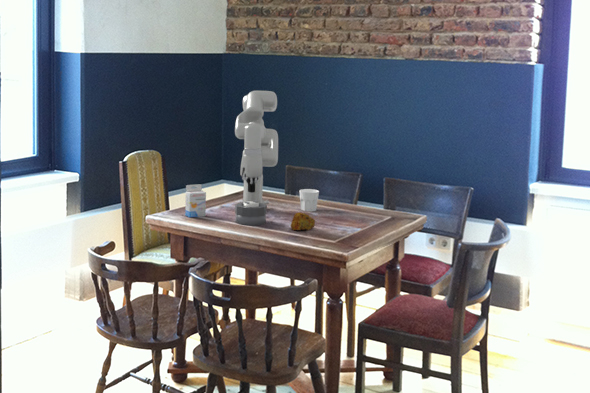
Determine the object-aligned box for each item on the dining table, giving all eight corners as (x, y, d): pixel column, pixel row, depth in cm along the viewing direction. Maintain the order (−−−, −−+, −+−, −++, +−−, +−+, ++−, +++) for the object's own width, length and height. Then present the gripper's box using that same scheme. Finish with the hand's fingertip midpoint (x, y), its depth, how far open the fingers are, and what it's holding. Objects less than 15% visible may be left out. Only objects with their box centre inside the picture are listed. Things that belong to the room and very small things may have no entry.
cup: (307, 212, 330) (308, 193, 328) (294, 209, 338) (295, 190, 336) (322, 210, 336) (323, 191, 334) (309, 207, 344) (310, 188, 342)
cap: (251, 211, 309) (251, 199, 308) (261, 213, 304) (262, 201, 303) (240, 213, 304) (240, 201, 303) (250, 215, 299) (250, 203, 298)
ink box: (189, 217, 308) (189, 186, 306) (185, 215, 312) (185, 185, 310) (206, 216, 313) (206, 185, 310) (201, 214, 317) (201, 184, 314)
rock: (292, 236, 298) (302, 218, 302) (308, 241, 295) (317, 223, 299) (286, 223, 289) (296, 205, 293) (302, 229, 286) (313, 210, 290)
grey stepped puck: (251, 217, 314) (252, 200, 313) (272, 222, 305) (272, 205, 303) (229, 221, 304) (229, 204, 303) (249, 226, 295) (250, 209, 293)
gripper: (258, 150, 307) (257, 189, 310) (234, 152, 296) (233, 192, 299) (270, 152, 301) (268, 191, 305) (245, 154, 291) (244, 195, 294)
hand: (251, 191), depth 302 cm, fingers closed
